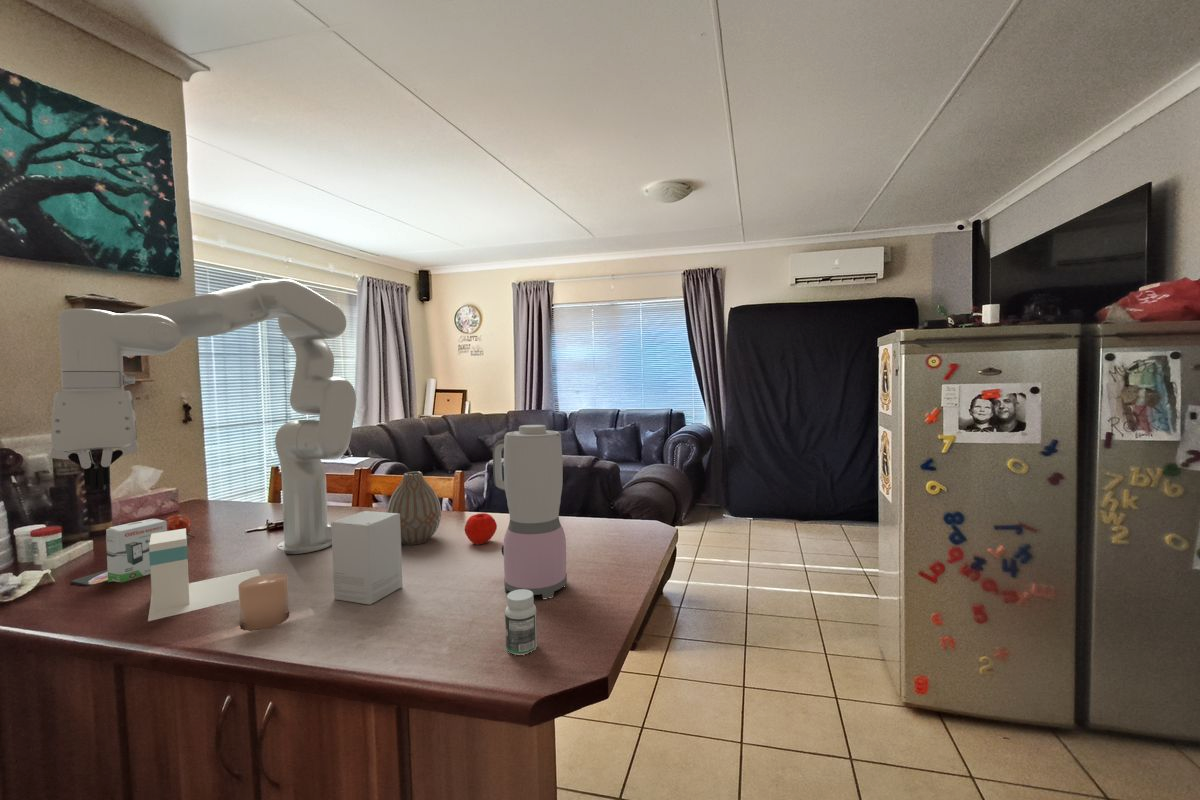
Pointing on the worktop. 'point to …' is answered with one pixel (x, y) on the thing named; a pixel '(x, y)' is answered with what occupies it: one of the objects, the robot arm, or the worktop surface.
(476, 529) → the apple
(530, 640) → the pill bottle
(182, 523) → the pomegranate
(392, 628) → the worktop surface
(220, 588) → the white flat sheet
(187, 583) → the carton
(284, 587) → the beige pillar candle
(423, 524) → the vase
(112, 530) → the ink box
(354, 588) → the supplement box
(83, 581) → the smartphone
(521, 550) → the blender
